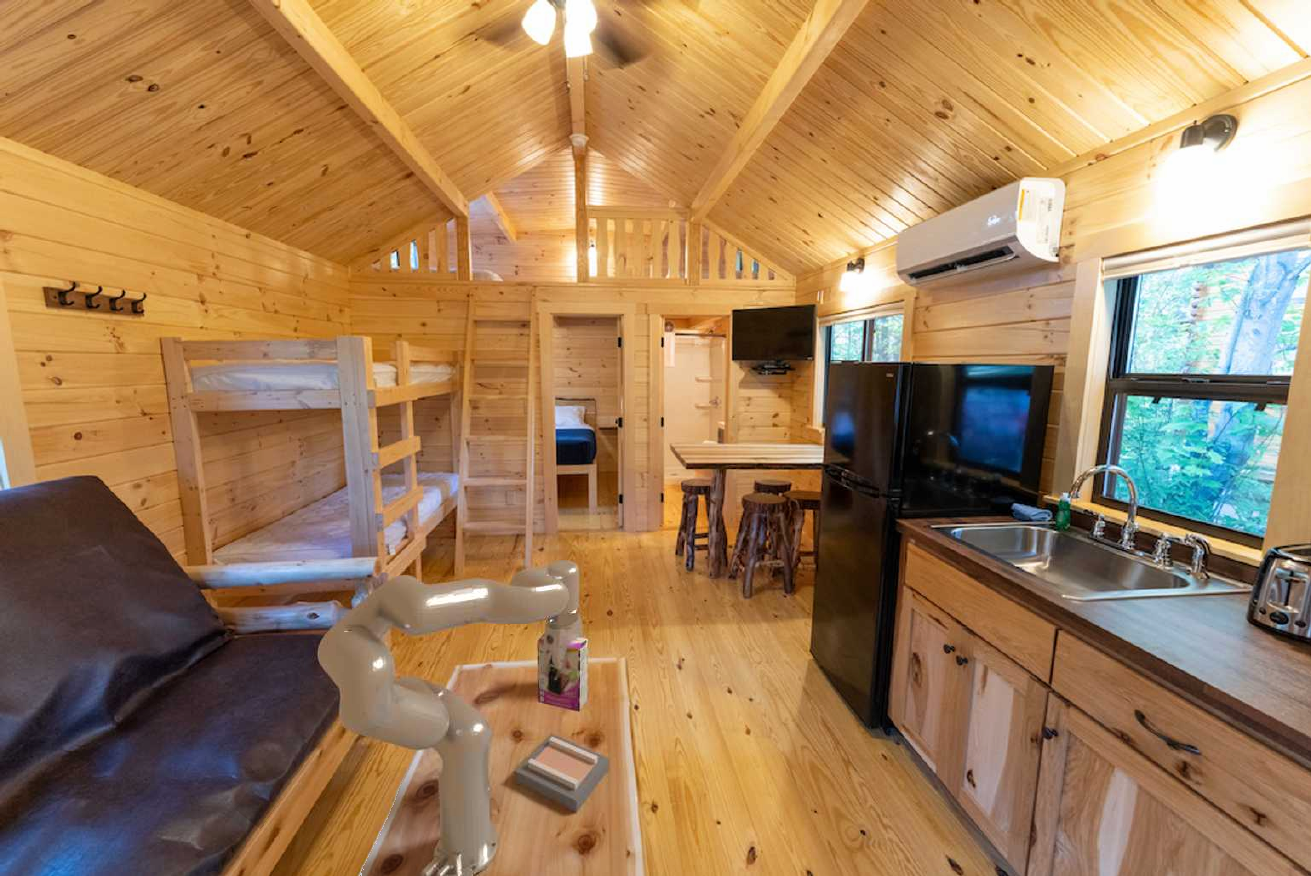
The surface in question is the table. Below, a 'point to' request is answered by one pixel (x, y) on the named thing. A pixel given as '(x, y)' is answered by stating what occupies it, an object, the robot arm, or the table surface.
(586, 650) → the candy bar box
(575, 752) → the display plinth
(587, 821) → the table surface
